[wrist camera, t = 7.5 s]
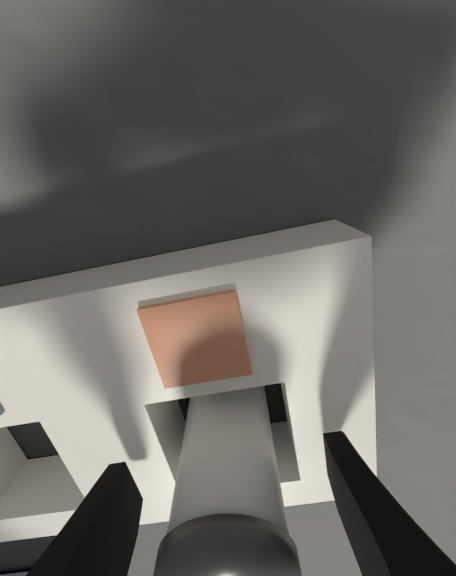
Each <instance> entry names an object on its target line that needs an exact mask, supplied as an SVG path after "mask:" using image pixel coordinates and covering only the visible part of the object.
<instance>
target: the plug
mask: <svg viewBox="0 0 456 576" xmlns="http://www.w3.org/2000/svg"><path fill="white" fill-rule="evenodd" d="M153 576H302V575H301V569H300V564H299V558H298V552H297V548H296V545H295V543H294V541H293V539H292V538H291V537H290V536H289V533H288V527H287V520H286V514H285V508H284V502H283V496H282V490H281V484H280V478H279V472H278V466H277V460H276V454H275V448H274V442H273V436H272V430H271V424H270V418H269V412H268V406H267V400H266V394H265V388H264V386H259V387H252V388H246V389H240V390H234V391H227V392H221V393H215V394H208V395H202V396H196V397H190V401H189V407H188V412H187V418H186V424H185V430H184V436H183V441H182V447H181V453H180V459H179V465H178V471H177V476H176V482H175V488H174V494H173V500H172V505H171V511H170V517H169V523H168V529H167V534H166V536H165V537H164V538H163V539H162V541H161V543H160V545H159V549H158V553H157V559H156V564H155V570H154V575H153Z"/></svg>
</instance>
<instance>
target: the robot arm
mask: <svg viewBox="0 0 456 576" xmlns="http://www.w3.org/2000/svg"><path fill="white" fill-rule="evenodd" d="M323 440H324V449H325V458H326V467H327V475H328V479H329V482H330V486H331V489H332V493H333V496H334V499H335V503H336V506H337V510H338V512H339V515H340V518H341V520H342V523H343V526H344V528H345V531H346V534H347V536H348V539H349V541H350V544H351V547H352V549H353V552H354V555H355V557H356V560H357V562H358V565H359V568H360V570H361V573H362V576H456V564H455V563H454V562H453V561H452V560H451V559H450V558H449V557H448V556H447V555H446V554H445V553H444V552H443V551H442V550H441V549H440V548H439V547H438V546H437V545H436V544H435V543H434V542H433V541H432V540H431V539H430V538H429V536H428V535H427V534H426V533H425V532H424V531H423V530H422V529H421V528H420V527H419V526H418V524H417V523H416V522H415V521H414V520H413V519H412V518H411V517H410V516H409V515H408V513H407V512H406V511H405V510H404V509H403V508H402V507H401V505H400V504H399V503H398V502H397V501H396V500H395V498H394V497H393V496H392V495H391V494H390V492H389V491H388V490H387V489H386V488H385V486H384V485H383V484H382V483H381V482H380V480H379V479H378V478H377V477H376V475H375V474H374V473H373V472H372V470H371V469H370V468H369V467H368V465H367V464H366V463H365V461H364V460H363V459H362V457H361V456H360V455H359V453H358V452H357V451H356V449H355V448H354V446H353V445H352V443H351V442H350V441H349V439H348V438H347V436H346V434H345V433H344V432H342V431H335V432H328V433H323ZM142 503H143V498H142V496H141V493H140V491H139V489H138V487H137V485H136V483H135V481H134V479H133V477H132V475H131V473H130V470H129V468H128V466H127V464H126V462H120V463H113V464H109V465H108V466H107V468H106V469H105V470H104V472H103V473H102V475H101V476H100V477H99V479H98V480H97V481H96V483H95V484H94V486H93V487H92V488H91V490H90V491H89V493H88V494H87V495H86V497H85V498H84V499H83V501H82V502H81V504H80V505H79V506H78V508H77V509H76V510H75V512H74V513H73V515H72V516H71V517H70V519H69V520H68V521H67V523H66V524H65V525H64V527H63V528H62V529H61V531H60V532H59V533H58V535H57V536H56V537H55V539H54V540H53V541H52V543H51V544H50V545H49V547H48V548H47V549H46V550H45V552H44V553H43V554H42V555H41V557H40V558H39V559H38V561H37V562H36V563H35V564H34V566H33V567H32V568H31V569H30V571H28V572H19V573H11V574H2V575H0V576H127V573H128V570H129V566H130V562H131V558H132V554H133V550H134V547H135V543H136V539H137V535H138V529H139V523H140V517H141V510H142Z"/></svg>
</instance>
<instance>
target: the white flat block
mask: <svg viewBox="0 0 456 576" xmlns="http://www.w3.org/2000/svg"><path fill="white" fill-rule="evenodd" d="M277 383H281V389H282V395H283V401H284V406H285V412H286V418H287V421H283V422H277V423H270V424H271V430H272V436H273V442H274V448H275V454H276V460H277V466H278V472H279V478H280V484H281V490H282V496H283V502H284V507H285V506H293V505H301V504H309V503H317V502H325V501H333V500H335V499H334V496H333V493H332V489H331V486H330V482H329V479H328V475H327V467H326V458H325V449H324V440H323V433H328V432H335V431H342V432H344V433H345V434H346V436H347V438H348V439H349V441H350V442H351V443H352V445H353V446H354V448H355V449H356V451H357V452H358V453H359V455H360V456H361V457H362V459H363V460H364V461H365V463H366V464H367V465H368V467H369V468H370V469H371V470H372V472H373V473H374V474H375V475H376V477H377V469H376V421H375V373H374V326H373V278H372V236H370V235H368V234H366V233H364V232H362V231H359V230H357V229H355V228H353V227H351V226H348V225H346V224H344V223H342V222H340V221H337V220H335V219H334V220H329V221H325V222H320V223H315V224H310V225H305V226H300V227H295V228H290V229H285V230H280V231H275V232H270V233H265V234H260V235H255V236H250V237H245V238H240V239H235V240H230V241H225V242H220V243H215V244H210V245H205V246H201V247H196V248H191V249H186V250H181V251H176V252H171V253H166V254H161V255H156V256H151V257H146V258H141V259H136V260H131V261H126V262H121V263H116V264H111V265H106V266H101V267H96V268H91V269H86V270H81V271H77V272H72V273H67V274H62V275H57V276H52V277H47V278H42V279H37V280H32V281H27V282H22V283H17V284H12V285H7V286H2V287H0V542H6V541H14V540H22V539H30V538H38V537H46V536H54V535H58V533H59V532H60V531H61V529H62V528H63V527H64V525H65V524H66V523H67V521H68V520H69V519H70V517H71V516H72V515H73V513H74V512H75V510H76V509H77V508H78V506H79V505H80V504H81V502H82V501H83V499H84V498H85V497H86V495H87V494H88V493H89V491H90V490H91V488H92V487H93V486H94V484H95V483H96V481H97V480H98V479H99V477H100V476H101V475H102V473H103V472H104V470H105V469H106V468H107V466H108V465H109V464H113V463H120V462H126V464H127V466H128V468H129V470H130V473H131V475H132V477H133V479H134V481H135V483H136V485H137V487H138V489H139V491H140V493H141V496H142V498H143V503H142V510H141V517H140V523H139V525H141V524H149V523H157V522H165V521H169V517H170V511H171V505H172V500H173V494H174V488H175V482H176V476H177V471H178V465H179V459H180V453H181V447H182V441H183V436H184V430H185V424H186V422H185V420H184V417H183V414H182V411H181V408H180V405H179V402H178V399H183V398H190V397H196V396H202V395H208V394H215V393H221V392H227V391H234V390H240V389H246V388H252V387H259V386H265V385H271V384H277ZM33 422H40V423H41V425H42V427H43V428H44V430H45V432H46V434H47V435H48V437H49V439H50V440H51V442H52V444H53V445H54V447H55V449H56V450H57V452H58V454H59V455H55V456H48V457H42V458H35V459H27V458H26V456H25V455H24V453H23V451H22V450H21V448H20V447H19V445H18V444H17V442H16V441H15V439H14V438H13V436H12V435H11V433H10V432H9V430H8V428H7V427H8V426H14V425H20V424H27V423H33Z"/></svg>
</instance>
